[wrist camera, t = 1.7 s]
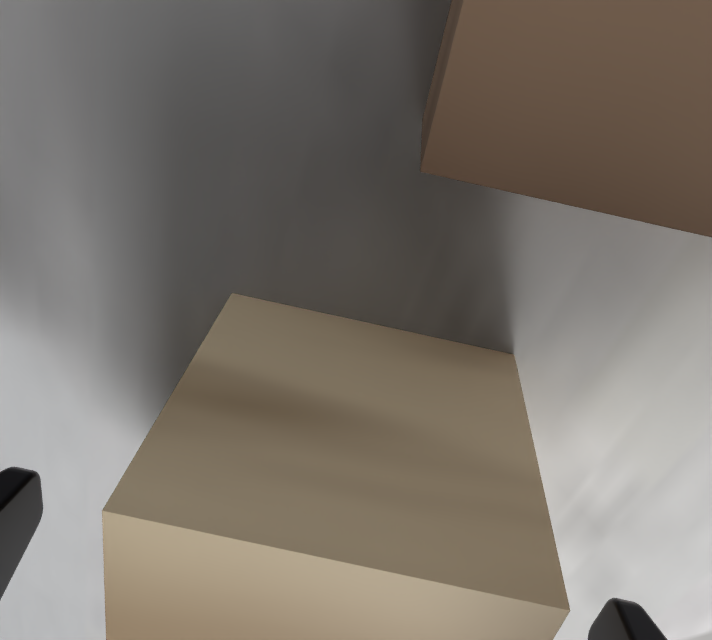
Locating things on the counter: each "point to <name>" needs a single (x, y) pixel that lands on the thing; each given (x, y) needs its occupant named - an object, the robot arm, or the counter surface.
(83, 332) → the counter surface
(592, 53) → the walnut block
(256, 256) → the counter surface
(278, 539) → the maple cube
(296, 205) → the counter surface
